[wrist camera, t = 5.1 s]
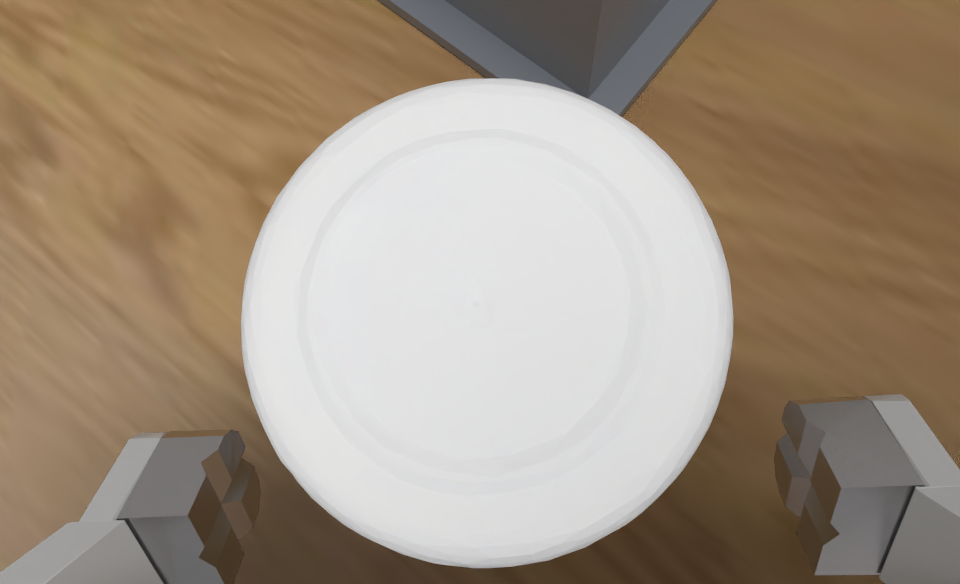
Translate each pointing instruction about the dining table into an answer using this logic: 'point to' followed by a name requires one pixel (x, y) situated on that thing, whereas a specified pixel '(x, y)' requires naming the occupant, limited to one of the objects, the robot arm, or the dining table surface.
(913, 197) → the dining table surface
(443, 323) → the sprinkles bottle
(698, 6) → the square holder
